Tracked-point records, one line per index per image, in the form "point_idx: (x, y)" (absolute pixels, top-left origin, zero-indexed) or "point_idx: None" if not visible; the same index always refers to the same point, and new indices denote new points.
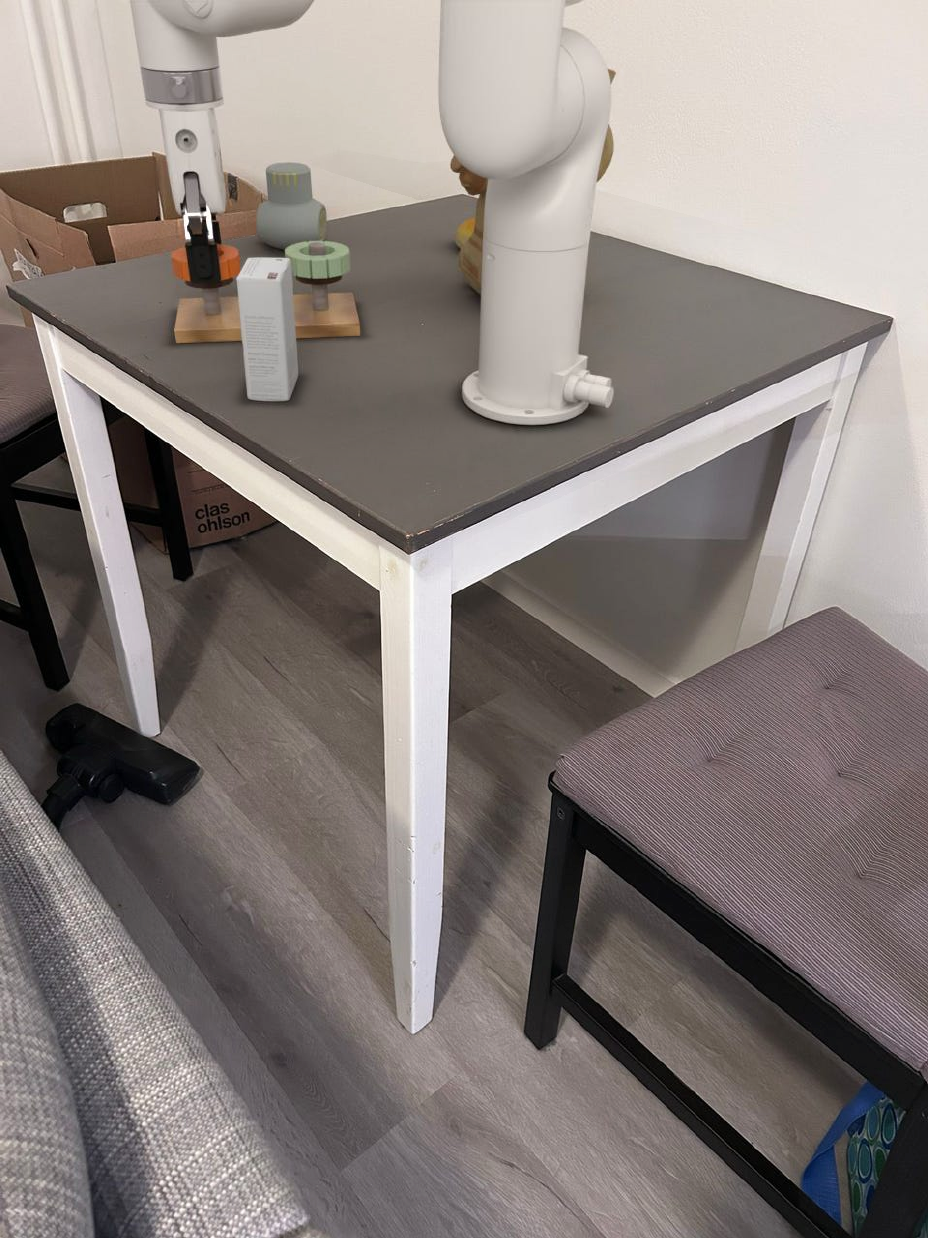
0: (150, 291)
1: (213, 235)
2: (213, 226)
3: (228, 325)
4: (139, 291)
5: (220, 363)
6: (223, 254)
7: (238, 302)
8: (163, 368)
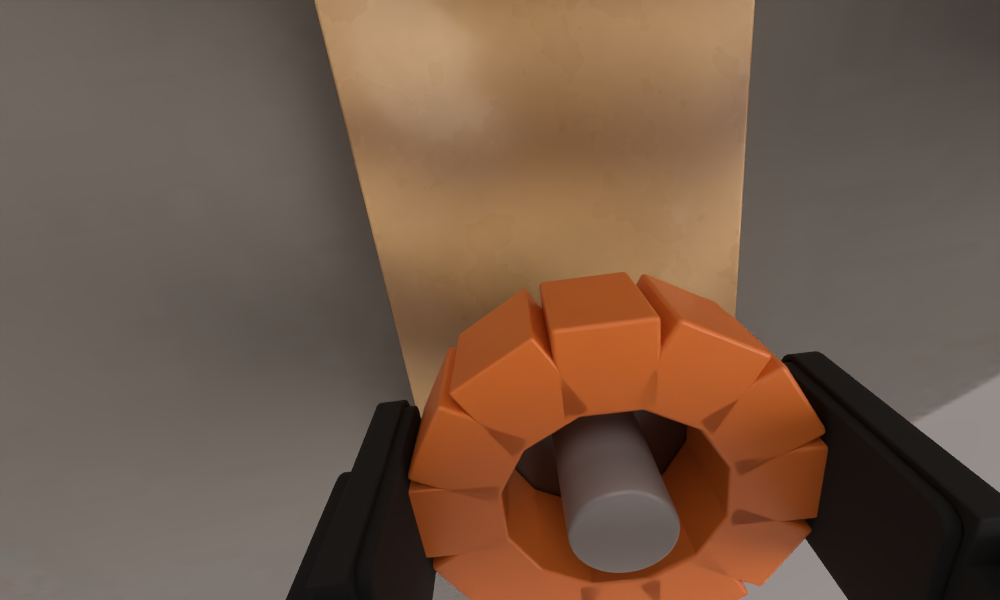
0: (275, 527)
1: (400, 531)
2: (380, 585)
3: (712, 258)
4: (282, 550)
5: (909, 241)
6: (653, 408)
7: (451, 258)
8: (896, 394)
